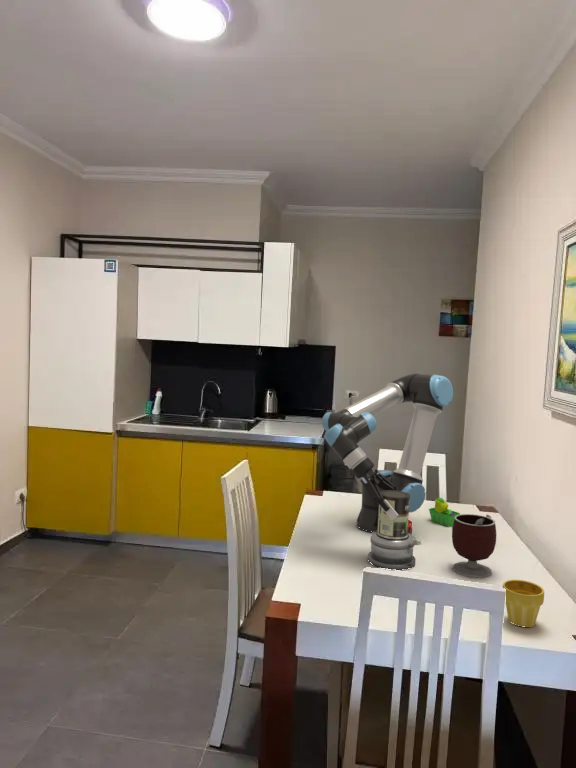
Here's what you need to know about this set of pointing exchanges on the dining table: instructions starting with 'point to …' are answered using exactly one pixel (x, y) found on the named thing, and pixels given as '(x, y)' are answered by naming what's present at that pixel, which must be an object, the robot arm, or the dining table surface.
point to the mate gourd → (473, 543)
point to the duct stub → (392, 552)
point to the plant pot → (523, 601)
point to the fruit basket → (442, 513)
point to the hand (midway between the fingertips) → (400, 512)
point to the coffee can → (400, 523)
